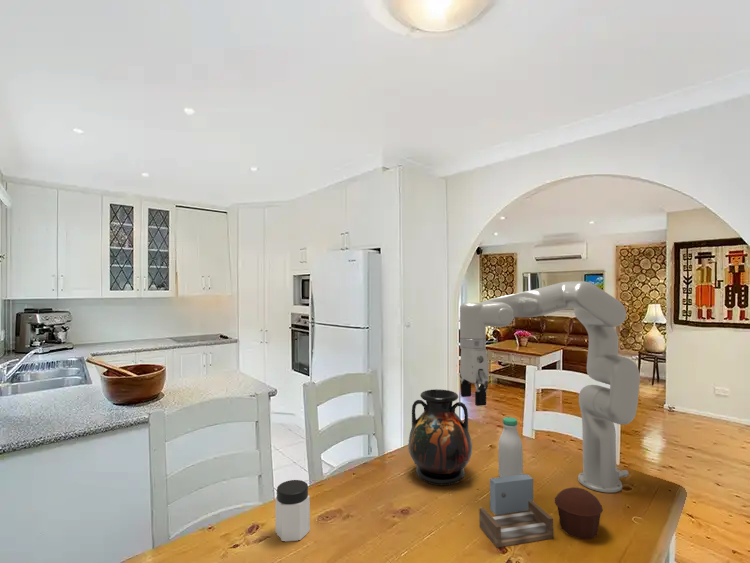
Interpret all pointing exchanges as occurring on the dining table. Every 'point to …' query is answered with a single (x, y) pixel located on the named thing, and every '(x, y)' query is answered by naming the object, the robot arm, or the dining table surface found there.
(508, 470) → the milk bottle
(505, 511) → the door panel
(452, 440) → the amphora vase
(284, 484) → the jar
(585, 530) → the muffin
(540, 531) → the wooden rack
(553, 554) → the dining table surface
